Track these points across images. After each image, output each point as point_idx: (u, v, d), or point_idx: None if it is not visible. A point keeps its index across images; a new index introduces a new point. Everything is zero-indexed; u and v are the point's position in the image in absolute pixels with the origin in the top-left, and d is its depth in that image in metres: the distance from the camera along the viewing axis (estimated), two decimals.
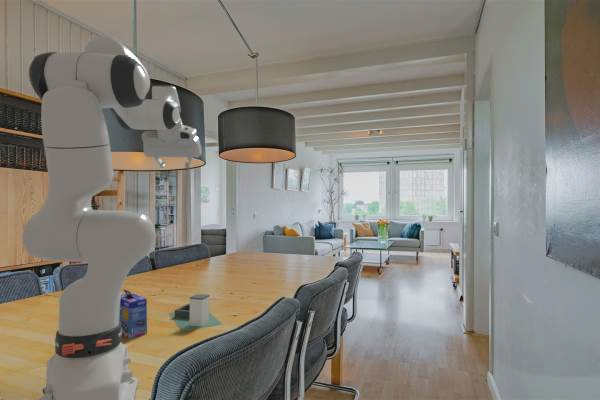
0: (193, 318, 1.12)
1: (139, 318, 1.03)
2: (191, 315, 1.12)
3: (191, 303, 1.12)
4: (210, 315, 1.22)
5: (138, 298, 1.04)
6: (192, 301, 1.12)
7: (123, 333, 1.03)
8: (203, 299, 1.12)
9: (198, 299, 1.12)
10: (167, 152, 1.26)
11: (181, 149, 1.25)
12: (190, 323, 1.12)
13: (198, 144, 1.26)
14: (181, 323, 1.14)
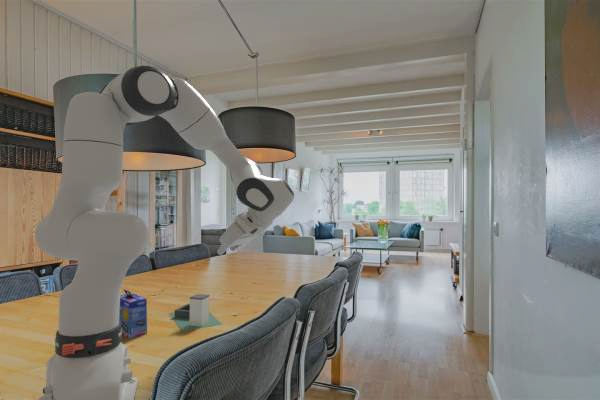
0: (193, 318, 1.12)
1: (139, 318, 1.03)
2: (191, 315, 1.12)
3: (191, 303, 1.12)
4: (210, 315, 1.22)
5: (138, 298, 1.04)
6: (192, 301, 1.12)
7: (123, 333, 1.03)
8: (203, 299, 1.12)
9: (198, 299, 1.12)
10: None
11: None
12: (190, 323, 1.12)
13: (230, 231, 1.02)
14: (181, 323, 1.14)
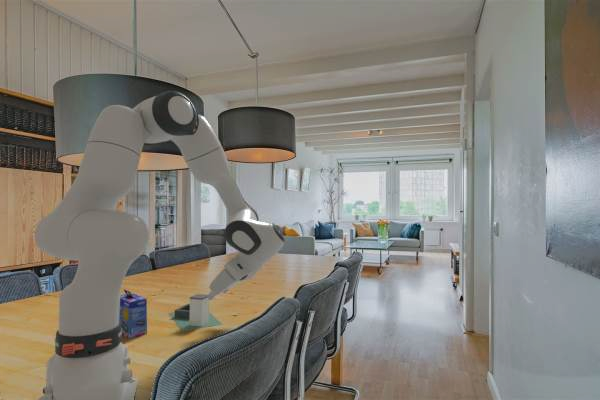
0: (193, 318, 1.12)
1: (139, 318, 1.03)
2: (191, 315, 1.12)
3: (191, 303, 1.12)
4: (210, 315, 1.22)
5: (138, 298, 1.04)
6: (192, 301, 1.12)
7: (123, 333, 1.03)
8: (203, 299, 1.12)
9: (198, 299, 1.12)
10: None
11: None
12: (190, 323, 1.12)
13: (220, 279, 1.02)
14: (181, 323, 1.14)
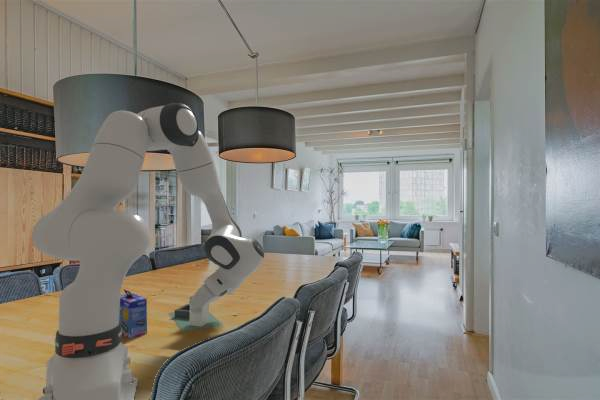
0: (193, 318, 1.12)
1: (139, 318, 1.03)
2: (191, 315, 1.12)
3: None
4: (210, 315, 1.22)
5: (138, 298, 1.04)
6: None
7: (123, 333, 1.03)
8: None
9: None
10: None
11: None
12: (190, 323, 1.12)
13: (199, 294, 1.03)
14: (181, 323, 1.14)
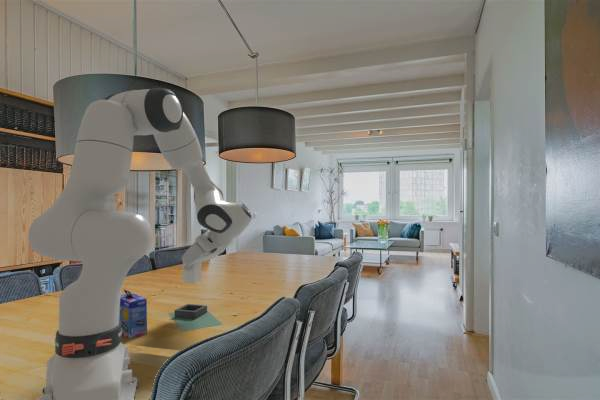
0: (186, 276, 1.21)
1: (139, 318, 1.03)
2: (184, 273, 1.21)
3: None
4: (210, 315, 1.22)
5: (138, 298, 1.04)
6: None
7: (123, 333, 1.03)
8: None
9: None
10: None
11: None
12: (183, 280, 1.21)
13: (191, 251, 1.13)
14: (181, 323, 1.14)
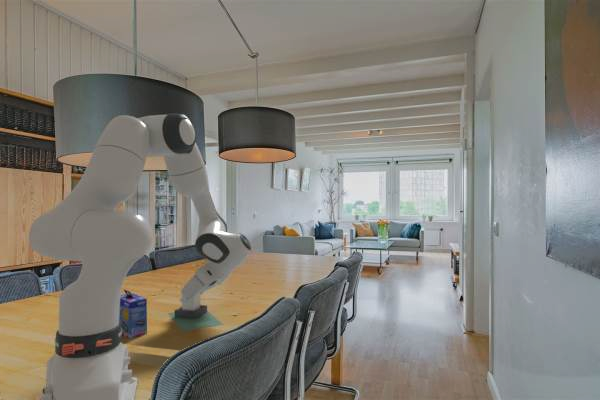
0: None
1: (139, 318, 1.03)
2: (183, 307, 1.21)
3: None
4: (210, 315, 1.22)
5: (138, 298, 1.04)
6: None
7: (123, 333, 1.03)
8: None
9: None
10: None
11: None
12: None
13: (190, 284, 1.12)
14: (181, 323, 1.14)
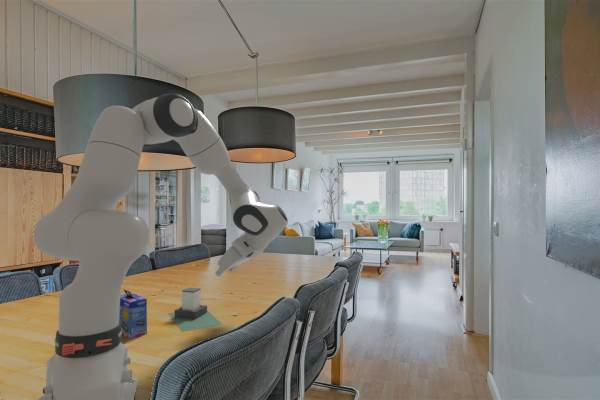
0: None
1: (139, 318, 1.03)
2: (183, 307, 1.21)
3: (183, 296, 1.21)
4: (210, 315, 1.22)
5: (138, 298, 1.04)
6: (185, 294, 1.21)
7: (123, 333, 1.03)
8: (194, 292, 1.21)
9: (190, 292, 1.21)
10: None
11: None
12: None
13: (228, 255, 1.10)
14: (181, 323, 1.14)
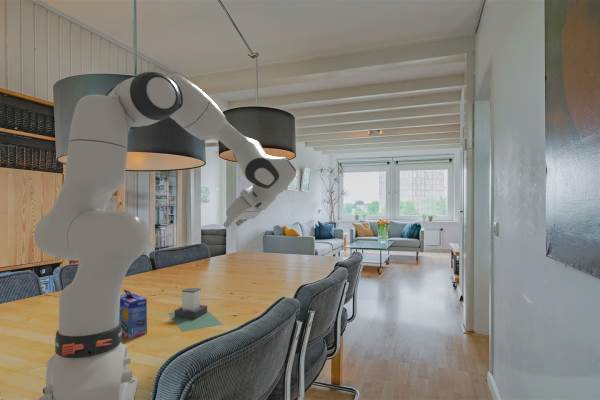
0: None
1: (139, 318, 1.03)
2: (183, 307, 1.21)
3: (183, 296, 1.21)
4: (210, 315, 1.22)
5: (138, 298, 1.04)
6: (185, 294, 1.21)
7: (123, 333, 1.03)
8: (194, 292, 1.21)
9: (190, 292, 1.21)
10: None
11: None
12: None
13: (236, 204, 1.09)
14: (181, 323, 1.14)
